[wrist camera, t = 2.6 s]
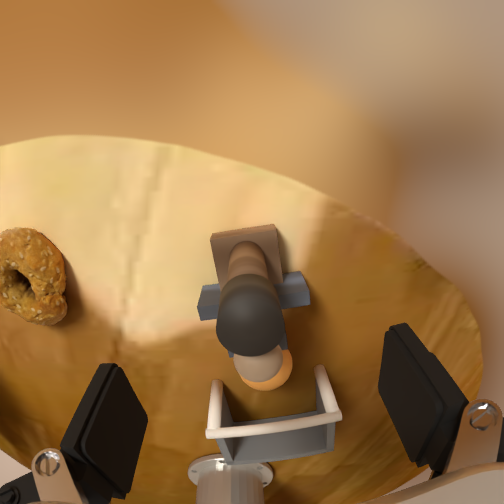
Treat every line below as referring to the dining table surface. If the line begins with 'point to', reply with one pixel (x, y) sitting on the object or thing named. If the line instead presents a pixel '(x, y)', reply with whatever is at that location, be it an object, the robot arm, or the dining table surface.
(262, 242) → the striker
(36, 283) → the bagel
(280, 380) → the ball
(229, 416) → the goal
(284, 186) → the dining table surface
